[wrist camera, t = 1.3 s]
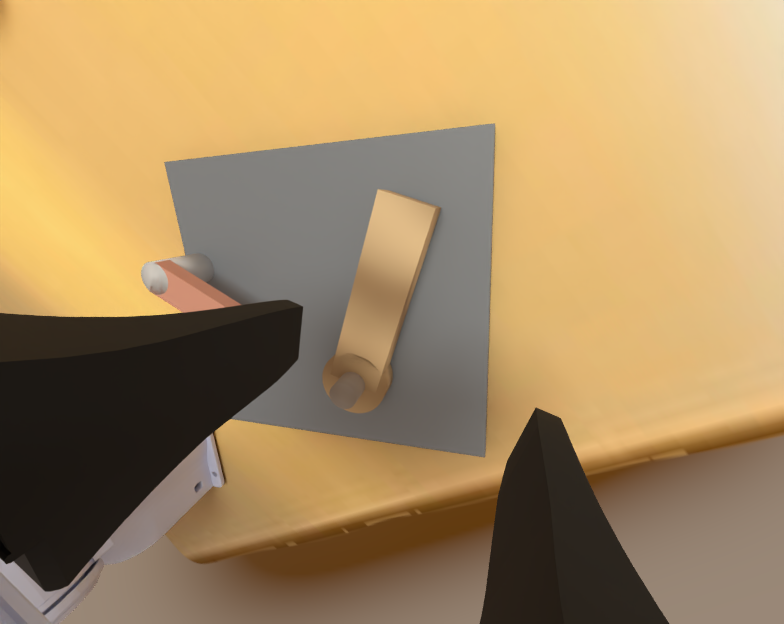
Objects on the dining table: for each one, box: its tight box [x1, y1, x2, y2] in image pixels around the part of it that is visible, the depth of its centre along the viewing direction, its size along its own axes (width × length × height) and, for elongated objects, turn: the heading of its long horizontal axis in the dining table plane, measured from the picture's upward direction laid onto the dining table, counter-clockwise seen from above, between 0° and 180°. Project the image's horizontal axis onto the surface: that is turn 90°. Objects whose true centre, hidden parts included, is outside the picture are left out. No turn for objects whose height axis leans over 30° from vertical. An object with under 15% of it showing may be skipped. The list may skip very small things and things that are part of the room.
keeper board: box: [141, 123, 495, 457], centre depth 21 cm, size 19×20×5 cm
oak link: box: [322, 189, 441, 413], centre depth 19 cm, size 13×4×3 cm, turn 163°
